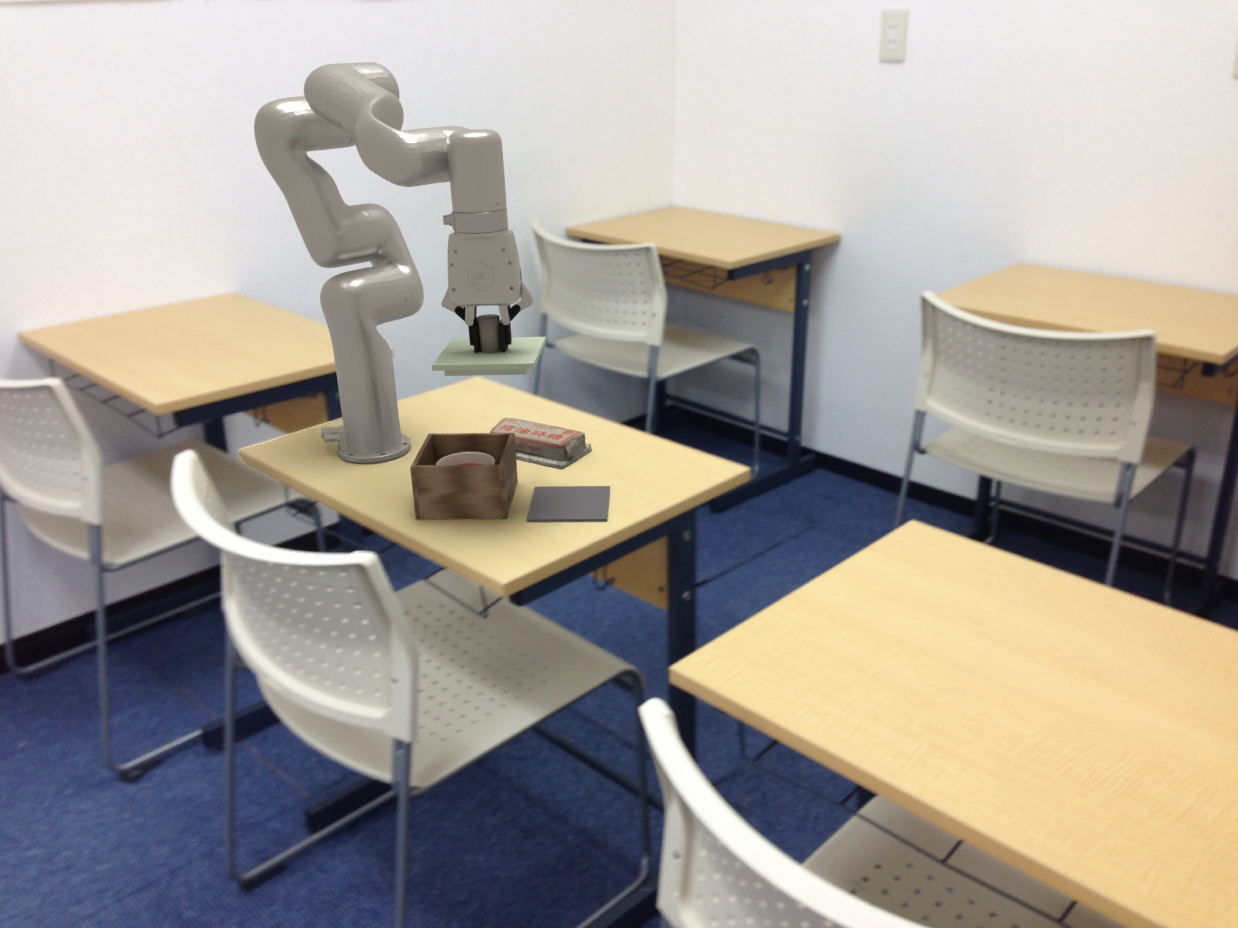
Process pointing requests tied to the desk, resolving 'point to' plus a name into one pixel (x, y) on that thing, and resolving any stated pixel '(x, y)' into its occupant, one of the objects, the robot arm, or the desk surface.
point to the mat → (569, 504)
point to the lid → (489, 353)
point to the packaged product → (544, 442)
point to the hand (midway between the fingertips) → (491, 348)
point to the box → (464, 477)
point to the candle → (467, 459)
